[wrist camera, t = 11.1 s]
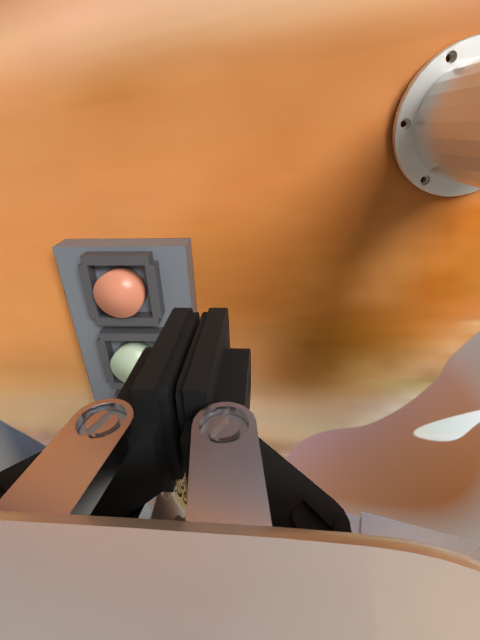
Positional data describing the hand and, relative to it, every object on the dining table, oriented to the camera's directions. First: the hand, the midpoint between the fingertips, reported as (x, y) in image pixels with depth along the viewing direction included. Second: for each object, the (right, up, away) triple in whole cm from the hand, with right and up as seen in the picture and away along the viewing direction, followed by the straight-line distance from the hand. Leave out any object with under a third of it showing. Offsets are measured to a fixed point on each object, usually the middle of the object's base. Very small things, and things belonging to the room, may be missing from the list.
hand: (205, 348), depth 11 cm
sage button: (-11, -4, +31) cm, 33 cm away
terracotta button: (-11, +4, +27) cm, 30 cm away
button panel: (-11, -2, +34) cm, 36 cm away
